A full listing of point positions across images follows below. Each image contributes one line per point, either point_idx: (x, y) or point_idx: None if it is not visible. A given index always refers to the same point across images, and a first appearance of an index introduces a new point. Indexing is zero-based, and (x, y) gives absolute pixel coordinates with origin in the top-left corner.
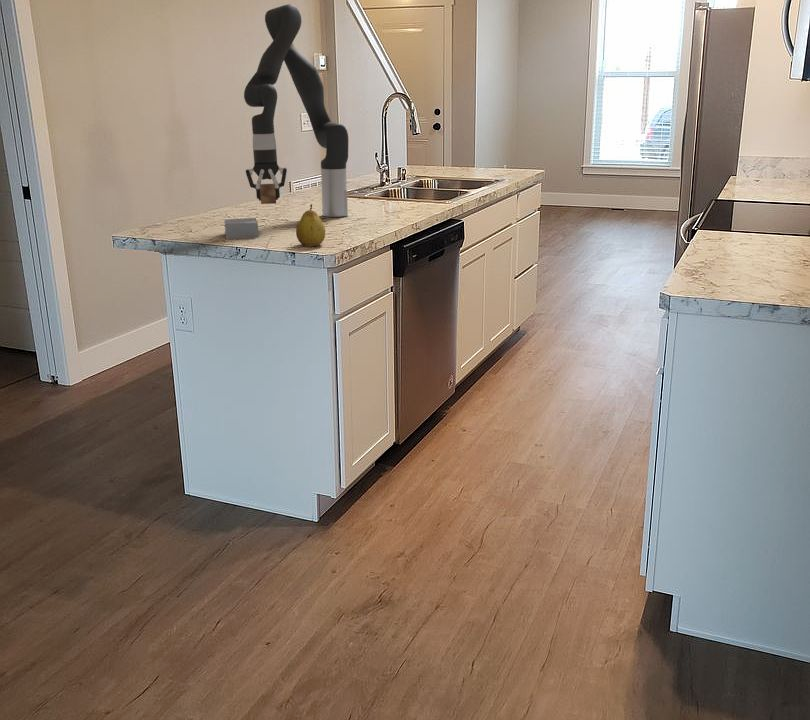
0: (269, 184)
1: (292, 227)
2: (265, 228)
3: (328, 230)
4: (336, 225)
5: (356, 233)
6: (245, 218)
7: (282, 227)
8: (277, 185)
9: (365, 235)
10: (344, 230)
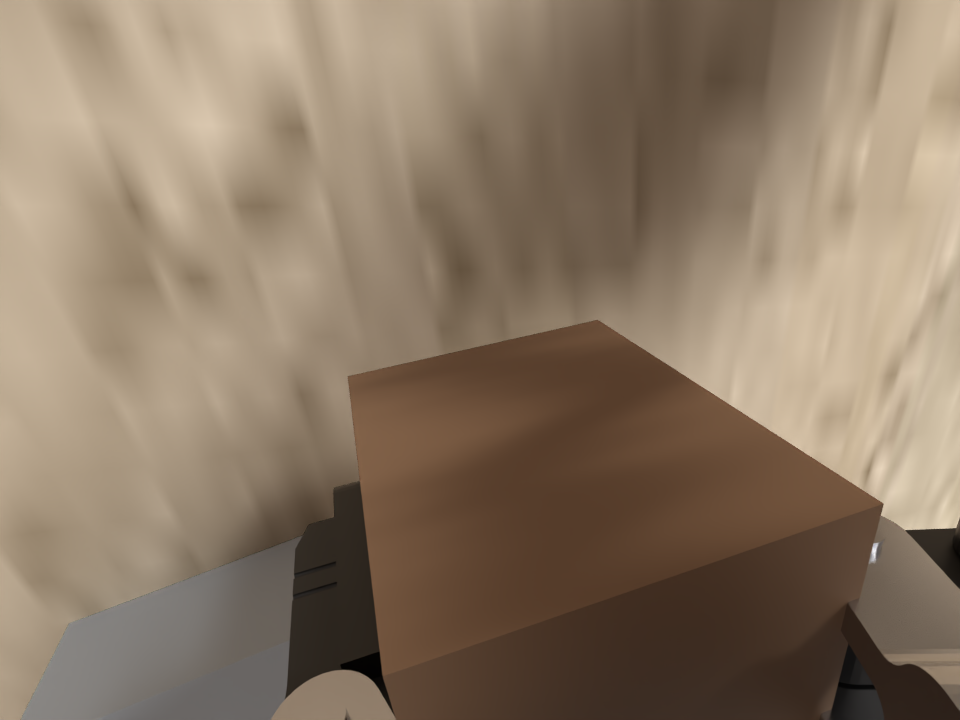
0: (710, 708)
1: (604, 254)
2: (371, 322)
3: (823, 376)
4: (920, 144)
5: (923, 455)
6: (245, 660)
7: (520, 257)
8: (858, 690)
9: (939, 502)
10: (902, 367)
